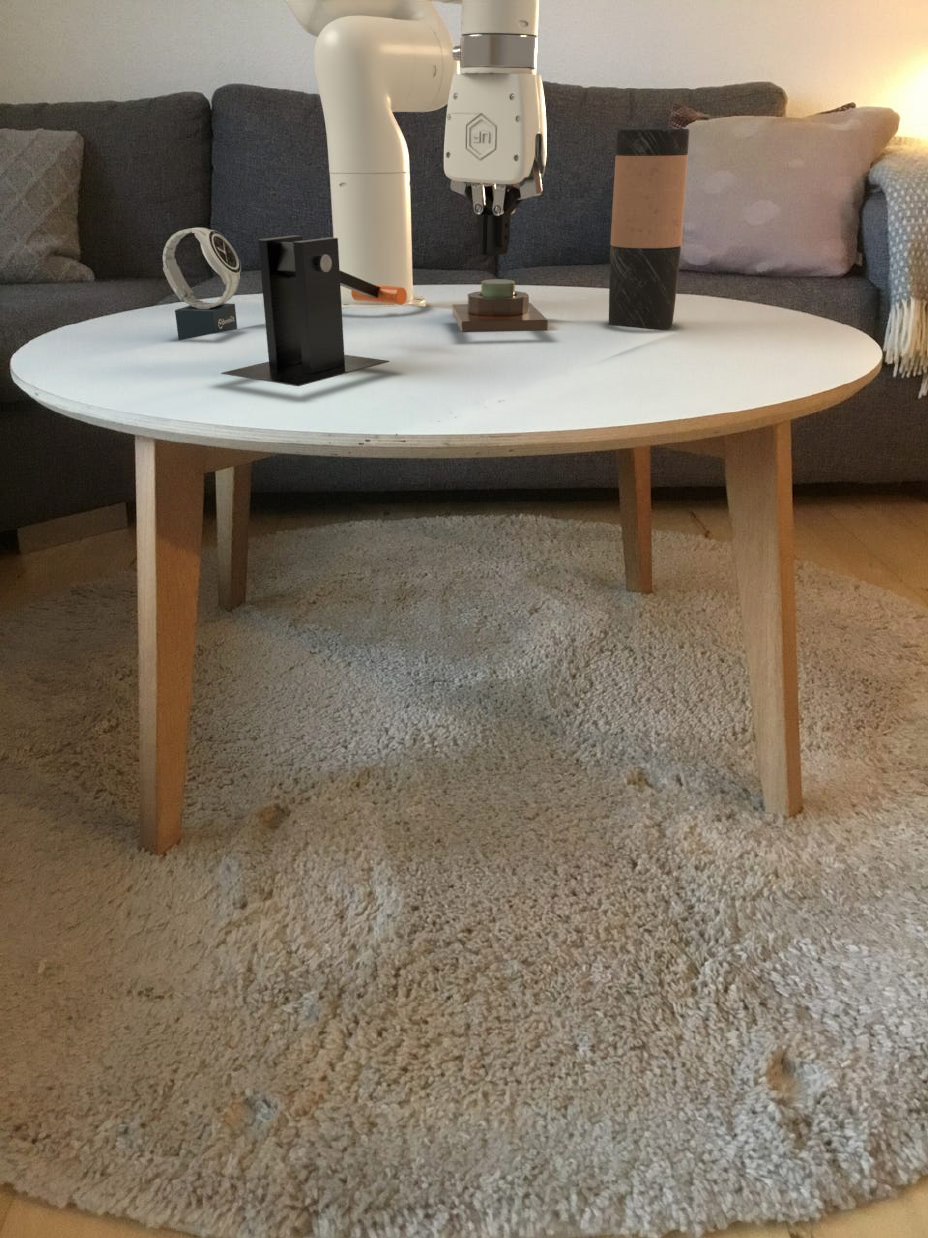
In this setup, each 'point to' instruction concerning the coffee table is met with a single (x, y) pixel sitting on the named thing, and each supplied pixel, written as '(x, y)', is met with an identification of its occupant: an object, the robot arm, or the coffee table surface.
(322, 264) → the switch bracket
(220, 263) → the watch
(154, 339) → the coffee table surface
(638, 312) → the travel mug
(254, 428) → the coffee table surface
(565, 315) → the coffee table surface
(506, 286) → the warm button
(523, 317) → the button block
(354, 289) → the switch lever
